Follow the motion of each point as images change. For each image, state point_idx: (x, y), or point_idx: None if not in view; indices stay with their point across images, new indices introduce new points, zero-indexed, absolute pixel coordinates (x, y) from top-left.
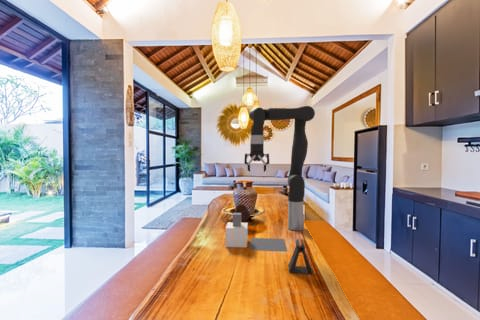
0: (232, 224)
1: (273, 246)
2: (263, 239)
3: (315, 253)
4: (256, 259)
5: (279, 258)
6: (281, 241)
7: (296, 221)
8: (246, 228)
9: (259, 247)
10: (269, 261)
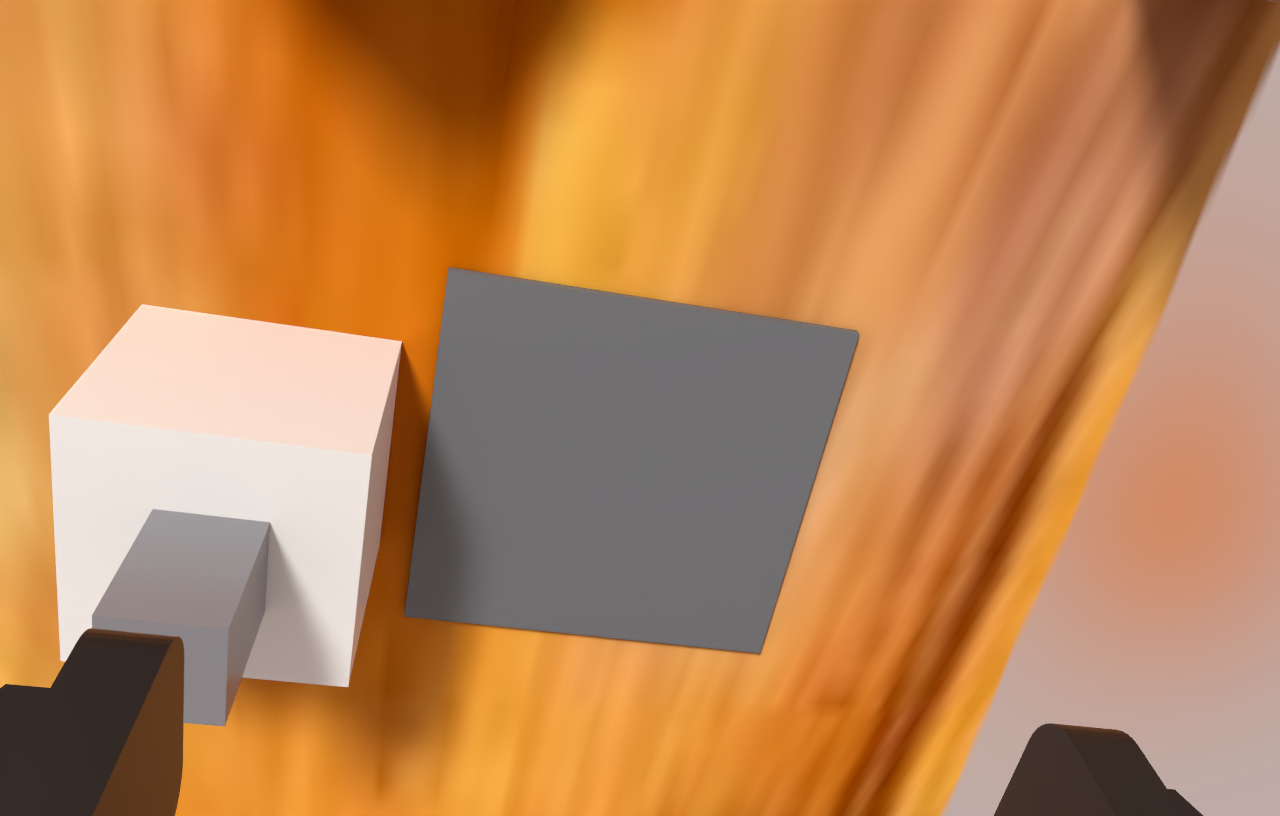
0: (138, 524)
1: (663, 543)
2: (602, 339)
3: (988, 678)
4: (450, 760)
5: (646, 750)
6: (796, 416)
7: (1276, 2)
8: (342, 685)
9: (512, 561)
10: (550, 792)
